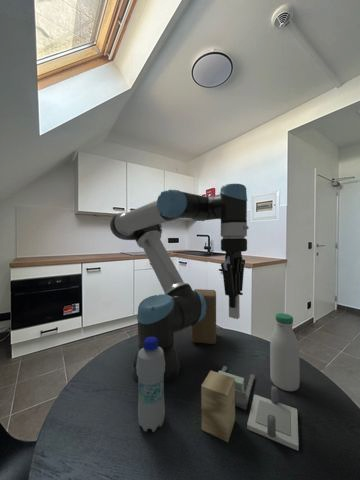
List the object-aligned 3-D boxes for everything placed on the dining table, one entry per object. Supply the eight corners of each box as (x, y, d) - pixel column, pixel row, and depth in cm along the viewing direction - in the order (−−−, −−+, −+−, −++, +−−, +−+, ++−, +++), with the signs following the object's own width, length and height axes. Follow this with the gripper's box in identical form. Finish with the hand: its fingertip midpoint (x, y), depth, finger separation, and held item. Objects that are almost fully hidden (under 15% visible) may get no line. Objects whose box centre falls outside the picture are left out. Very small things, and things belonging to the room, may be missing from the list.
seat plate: (246, 431, 45) (246, 411, 45) (254, 396, 55) (254, 379, 55) (298, 453, 40) (298, 431, 40) (297, 411, 50) (297, 393, 50)
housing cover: (216, 393, 56) (216, 375, 56) (219, 386, 59) (219, 369, 59) (242, 402, 53) (242, 383, 53) (244, 395, 55) (244, 377, 55)
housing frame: (209, 396, 55) (209, 381, 55) (223, 368, 67) (223, 356, 66) (246, 410, 51) (245, 394, 50) (254, 378, 62) (254, 365, 62)
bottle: (170, 416, 49) (170, 334, 49) (156, 441, 43) (155, 348, 43) (147, 406, 52) (146, 329, 52) (130, 429, 46) (129, 341, 46)
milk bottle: (304, 394, 55) (303, 321, 55) (273, 390, 57) (273, 319, 57) (294, 375, 63) (293, 311, 63) (267, 372, 65) (267, 310, 64)
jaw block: (201, 429, 46) (201, 385, 45) (210, 409, 51) (210, 370, 51) (228, 442, 43) (227, 395, 43) (234, 419, 48) (234, 378, 48)
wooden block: (193, 332, 93) (193, 288, 92) (215, 333, 91) (215, 289, 91) (191, 343, 83) (191, 294, 83) (216, 345, 81) (216, 295, 81)
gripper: (237, 237, 52) (238, 328, 52) (253, 237, 63) (253, 313, 63) (211, 238, 57) (212, 321, 57) (230, 237, 67) (230, 308, 67)
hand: (234, 317), depth 60 cm, fingers closed
